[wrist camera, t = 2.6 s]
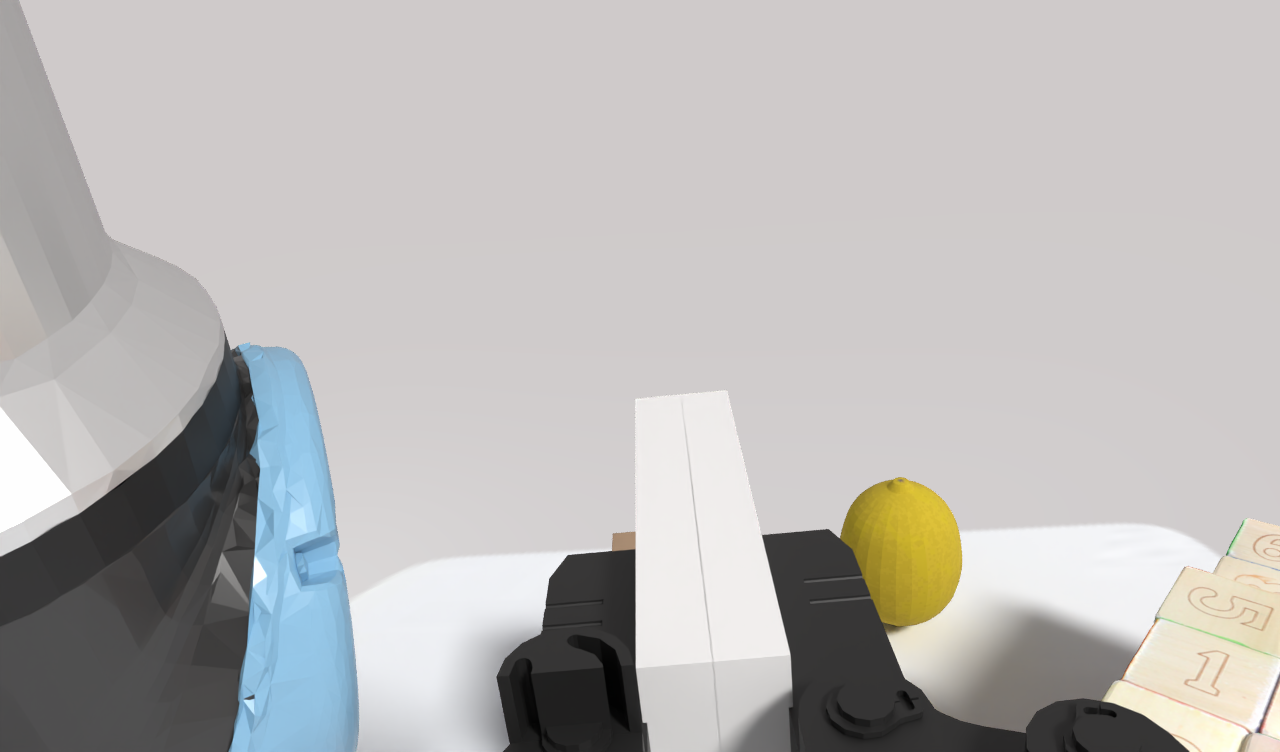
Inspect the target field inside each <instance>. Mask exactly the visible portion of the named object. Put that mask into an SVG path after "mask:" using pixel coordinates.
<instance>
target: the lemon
mask: <svg viewBox="0 0 1280 752" xmlns="http://www.w3.org/2000/svg"><path fill="white" fill-rule="evenodd" d="M840 539H841V540H842V541H843V542H844V543H846V544H847V545H848V546H849V547H850V548H852V549H853V552H854V554H855V557H856V559H857V562H858V564H859V567H860V569H861V572H862V576H863V579H865V582H866V584H867V587H868V589H869V592H870V595H871V600H872V599H873V602H874V604H875V607H876V609H877V612H878V614H879V617H880V619H881V622H884V623H887V624H891V625H895V626H910V625H917V624H920V623H923V622H926V621H928V620H930V619H931V618H933V617H935V616H936V615H938V614H939V613H940V612H941V611H942V610H943V609H944V608H945V607H946V606H947V604H948V603H949V602H950V601H951V599H952V597H953V596H954V593H955V591H956V588H957V585H958V582H959V579H960V575H961V570H962V550H961V540H960V535H959V530H958V526H957V523H956V520H955V518H954V516H953V514H952V512H951V510H950V509H949V507H948V506H947V504H946V503H945V501H944V500H942V498H940V497H939V496H938V495H937V494H936V493H935V492H934V491H932V490H931V489H929V488H927V487H925V486H924V485H921V484H919V483H916V482H913V481H909V480H907V479H906V478H902V477H898V478H895V479H894V480H888V481H884V482H881V483H878V484H875V485H873V486H872V487H870V488H868V489H867V490H865V491H864V492H863V493H861V494H860V495H859V496H858V497H857V499H856V500H855V501H854V502H853V504H852V505H851V507H850V509H849V511H848V513H847V516H846V519H845V522H844V524H843V528H842V532H841V536H840Z"/></svg>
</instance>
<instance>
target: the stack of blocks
mask: <svg viewBox="0 0 1280 752" xmlns="http://www.w3.org/2000/svg"><path fill="white" fill-rule="evenodd" d="M1101 701H1103V702H1110V703H1115V704H1117V705H1120V706H1122V707H1125V708H1128V709H1130V710H1133V711H1135V712H1138V713H1140V714H1143V715H1144V716H1146V717H1147V718H1149V719H1150V720H1152V721H1153V722H1155V723H1156V724H1157V725H1159V726H1160V727H1162V728H1163V729H1165V730H1166V731H1168V732H1169V733H1170V734H1171V735H1172V736H1173V737H1174V738H1175V739H1177V740H1178V741H1179V742H1180V743H1181V744H1182V745H1183V746H1184V747H1185V748H1186V749H1188V750H1189V751H1190V752H1280V526H1277V525H1272V524H1268V523H1264V522H1261V521H1257V520H1253V519H1249V518H1246V519H1245V520H1244V521H1243V523H1242V525H1241V527H1240V529H1239V530H1238V532H1237V534H1236V536H1235V538H1234V539H1233V541H1232V543H1231V545H1230V547H1229V549H1228V551H1227V554H1226V556H1223V557H1222V558H1221V559H1220V561H1219V563H1218V565H1217V567H1216V568H1215V570H1214V572H1213V574H1212V573H1209V572H1206V571H1203V570H1200V569H1197V568H1193V567H1189V566H1187V567H1184V568H1183V570H1182V572H1181V573H1180V575H1179V577H1178V579H1177V580H1176V582H1175V584H1174V585H1173V587H1172V589H1171V590H1170V592H1169V594H1168V595H1167V597H1166V599H1165V600H1164V602H1163V604H1162V605H1161V607H1160V609H1159V610H1158V612H1157V614H1156V616H1155V620H1154V625H1153V626H1152V628H1151V629H1150V630H1149V632H1148V634H1147V635H1146V637H1145V639H1144V640H1143V642H1142V644H1141V646H1140V648H1139V649H1138V651H1137V653H1136V654H1135V656H1134V657H1133V659H1132V660H1131V662H1130V664H1129V665H1128V667H1127V669H1126V671H1125V673H1124V675H1123V677H1122V679H1121V680H1117V681H1114V682H1113V683H1112V685H1111V686H1110V688H1109V689H1108V691H1107V692H1106V694H1105V695H1104V697H1103V699H1102V700H1101Z"/></svg>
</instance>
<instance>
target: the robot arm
mask: <svg viewBox="0 0 1280 752" xmlns="http://www.w3.org/2000/svg"><path fill="white" fill-rule="evenodd" d="M635 407H636V408H635V418H636V420H635V421H636V423H635V425H636V427H635V429H636V430H635V431H636V432H635V433H636V434H635V436H636V437H635V441H636V442H635V443H636V444H635V445H636V446H635V448H636V549H631V550H620V551H608V552H597V553H586V554H575V555H568V556H567V557H566V558H565V559H564V561H563V562H562V563H561V565H560V566H559V567H558V568H557V570H556V571H555V572H554V573H553V575H552V576H551V577H550V579H549V585H548V592H547V598H546V609H545V612H544V618H543V625H542V626H543V631H542V632H541V634H540V635H538V636H536V637H534V638H532V639H530V640H528V641H526V642H524V643H522V644H521V645H520V646H519V647H518V648H516V649H515V650H514V651H513V652H512V653H511V654H510V655H509V656H508V657H507V658H505V660H504V662H503V664H502V666H501V668H500V671H499V673H498V675H497V682H498V687H499V692H500V697H501V702H502V707H503V712H504V717H505V722H506V727H507V732H508V737H509V742H510V745H509V746H508V747H507V748H506V749H505V750H504V751H503V752H1190V751H1189V750H1188V749H1186V748H1185V747H1184V746H1183V745H1182V744H1181V743H1180V742H1179V741H1178V740H1177V739H1175V738H1174V737H1173V736H1172V735H1171V734H1170V733H1169V732H1168V731H1166V730H1165V729H1163V728H1162V727H1160V726H1159V725H1157V724H1156V723H1155V722H1153V721H1152V720H1150V719H1149V718H1147V717H1146V716H1144V715H1143V714H1140V713H1138V712H1135V711H1133V710H1130V709H1128V708H1125V707H1122V706H1120V705H1117V704H1115V703H1110V702H1103V701H1097V700H1090V699H1075V700H1066V701H1057V702H1055V703H1053V704H1051V705H1049V706H1047V707H1045V708H1043V709H1041V710H1039V711H1037V712H1036V714H1035V715H1034V717H1033V718H1032V720H1031V721H1030V723H1029V724H1028V726H1027V727H1026V733H1021V732H1015V731H1009V730H1003V729H996V728H990V727H984V726H979V725H975V724H971V723H967V722H963V721H960V720H957V719H955V718H952V717H950V716H948V715H945V714H943V713H941V712H939V711H937V710H936V709H934V707H933V705H932V704H931V703H930V701H929V700H928V699H927V697H926V696H925V694H924V693H923V692H922V690H921V689H919V688H918V687H916V686H915V685H913V684H912V683H910V682H909V681H907V680H906V679H905V678H904V676H903V674H902V671H901V669H900V666H899V664H898V662H897V659H896V657H895V654H894V652H893V649H892V647H891V644H890V642H889V639H888V637H887V634H886V632H885V629H884V627H883V624H882V622H881V619H880V617H879V614H878V612H877V609H876V607H875V604H874V602H873V599H872V600H871V595H870V592H869V589H868V587H867V584H866V582H865V579H863V576H862V572H861V569H860V567H859V564H858V562H857V559H856V557H855V554H854V552H853V549H852V548H850V547H849V546H848V545H847V544H846V543H844V542H843V541H842V540H841V539H840V538H838V537H837V536H836V535H835V534H833V533H832V532H831V531H830V530H829V529H826V530H814V531H803V532H792V533H782V534H770V535H762V534H761V530H760V526H759V522H758V518H757V513H756V509H755V505H754V501H753V497H752V493H751V489H750V484H749V480H748V476H747V472H746V468H745V464H744V460H743V455H742V451H741V447H740V443H739V439H738V434H737V430H736V426H735V422H734V418H733V414H732V409H731V405H730V401H729V397H728V393H727V390H723V391H713V392H702V393H691V394H681V395H670V396H659V397H650V398H640V399H635ZM339 545H340V543H339V538H338V531H337V526H336V516H335V500H334V494H333V488H332V482H331V476H330V471H329V465H328V460H327V454H326V449H325V444H324V439H323V434H322V429H321V425H320V421H319V416H318V411H317V407H316V403H315V399H314V395H313V391H312V388H311V385H310V381H309V378H308V375H307V372H306V370H305V367H304V365H303V363H302V361H301V360H300V358H299V357H298V356H297V355H296V354H295V353H294V352H292V351H290V350H288V349H286V348H281V347H261V346H258V345H250V343H246V344H242V345H239V346H237V347H236V348H235V349H232V350H230V347H229V344H228V340H227V337H226V334H225V331H224V328H223V324H222V321H221V319H220V315H219V313H218V310H217V307H216V305H215V304H214V302H213V301H212V299H211V298H210V296H209V294H208V293H207V291H206V290H205V289H204V287H203V286H202V285H201V284H200V283H199V282H198V280H197V279H196V278H194V277H193V276H191V275H190V274H188V273H186V272H185V271H184V270H182V269H181V268H179V267H177V266H175V265H173V264H171V263H168V262H167V261H164V260H162V259H160V258H158V257H155V256H153V255H150V254H148V253H145V252H142V251H140V250H138V249H135V248H133V247H130V246H127V245H125V244H122V243H120V242H118V241H115V240H113V239H112V238H111V237H109V236H108V235H107V234H106V232H105V231H104V228H103V225H102V222H101V220H100V217H99V214H98V212H97V209H96V206H95V203H94V201H93V198H92V196H91V193H90V190H89V187H88V185H87V182H86V179H85V177H84V174H83V171H82V169H81V166H80V163H79V161H78V158H77V155H76V152H75V150H74V147H73V144H72V142H71V139H70V136H69V134H68V131H67V128H66V126H65V123H64V120H63V118H62V115H61V112H60V110H59V107H58V104H57V102H56V99H55V96H54V93H53V91H52V88H51V86H50V83H49V80H48V77H47V75H46V72H45V70H44V67H43V64H42V61H41V59H40V56H39V53H38V51H37V48H36V45H35V42H34V40H33V37H32V35H31V32H30V29H29V26H28V24H27V21H26V18H25V16H24V13H23V11H22V8H21V5H20V2H19V0H0V752H356V749H357V743H358V732H359V700H358V684H357V670H356V659H355V648H354V639H353V629H352V620H351V613H350V606H349V599H348V592H347V585H346V579H345V575H344V570H343V566H342V563H341V561H340V559H339V558H338V556H337V554H338V550H339Z"/></svg>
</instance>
